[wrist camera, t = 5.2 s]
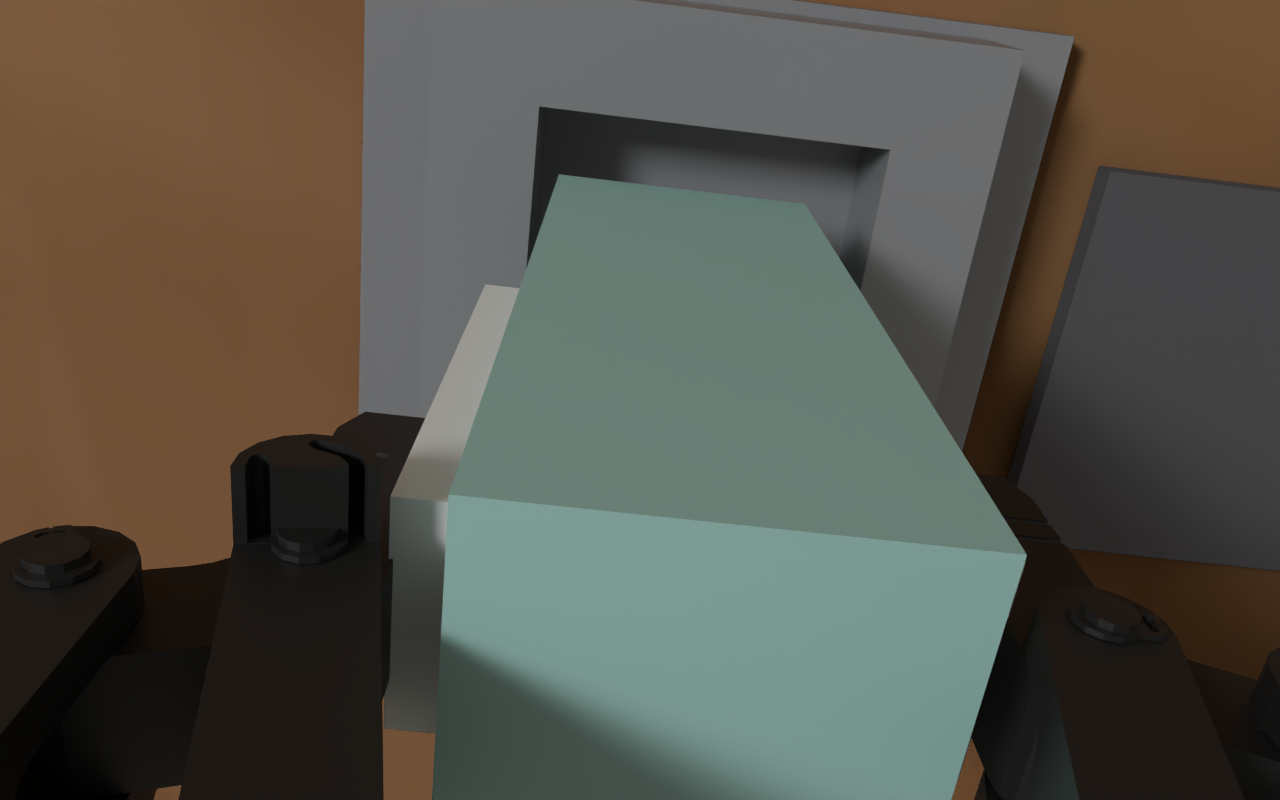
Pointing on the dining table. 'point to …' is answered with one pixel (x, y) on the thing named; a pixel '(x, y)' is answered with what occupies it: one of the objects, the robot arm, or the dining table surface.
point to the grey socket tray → (697, 155)
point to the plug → (709, 527)
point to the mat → (1164, 376)
